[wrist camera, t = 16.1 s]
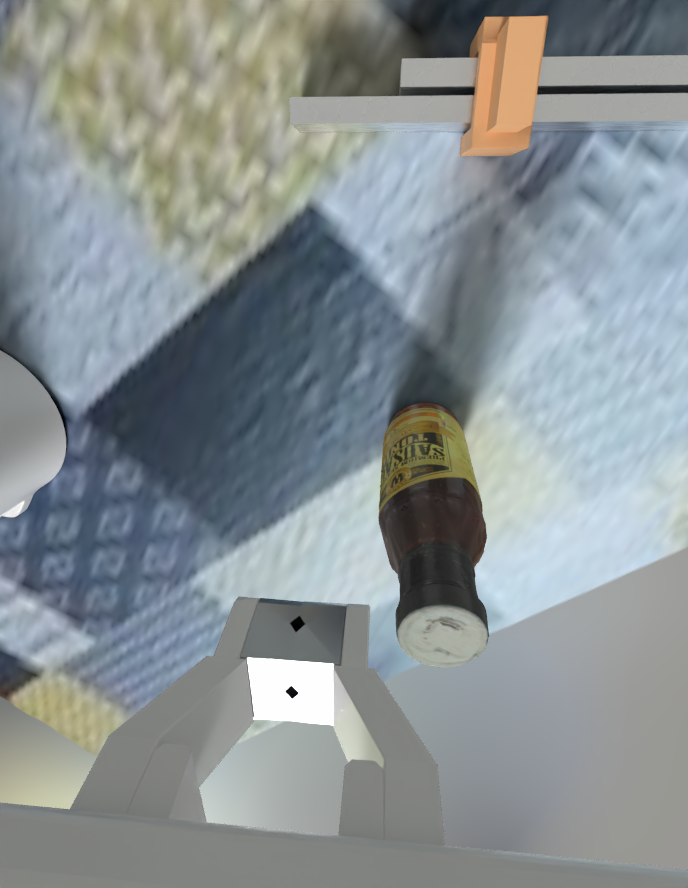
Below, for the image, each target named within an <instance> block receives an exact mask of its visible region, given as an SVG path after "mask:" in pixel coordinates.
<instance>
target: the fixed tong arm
mask: <svg viewBox="0 0 688 888" xmlns="http://www.w3.org/2000/svg"><path fill="white" fill-rule="evenodd" d="M289 101H290V124H291V125H293V126H294V127H295V128H296V129H297V130H298V131H299V132H300V133H332V132H467V131H468V130H469V129H471V124H472V114H473V104H474V95H448V96H353V97H289ZM531 131H688V93H637V94H543V95H537V96H536V103H535V109H534V116H533V123H532V129H531Z"/></svg>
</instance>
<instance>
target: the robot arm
mask: <svg viewBox="0 0 688 888" xmlns="http://www.w3.org/2000/svg"><path fill="white" fill-rule="evenodd" d="M65 453H66V435H65V429H64V425H63V422H62V419H61V416H60V414H59V411H58V409H57V407H56V405H55V403H54V402H53V400H52V398H51V397H50V395H49V394H48V392H47V391H46V389H45V388H44V387H43V386H42V384H41V383H40V382H39V381H38V380H37V379H36V378H35V377H34V376H33V375H32V374H31V373H30V372H29V371H28V370H27V369H26V368H25V367H24V366H23V365H21V364H20V363H19V362H17V361H16V360H15V359H13V358H12V357H10V356H9V355H7V354H6V353H4V352H2V351H1V350H0V517H1V516H5V517H16V516H18V515H19V514H21V513H22V512H24V511H25V510H26V509H27V508H28V506H29V504H30V502H31V499H32V497H33V494H34V493H35V492H36V491H37V490H38V489H39V488H41V487H42V486H44V485H45V484H47V483H48V482H49V481H51V480H52V479H53V478H54V477H55V476H56V474H57V473H58V472H59V470H60V468H61V466H62V464H63V461H64V458H65ZM369 621H370V606H369V605H359V604H340V603H321V602H298V601H287V600H276V599H265V598H260V599H259V598H248V597H238V598H237V599H236V601H235V602H234V604H233V607H232V609H231V612H230V615H229V617H228V620H227V622H226V625H225V628H224V630H223V633H222V635H221V638H220V641H219V643H218V646H217V648H216V651H215V653H214V656H213V657H212V656H206V657H205V658H204V659H203V660H201V661H200V662H199V663H198V664H196V665H195V666H194V667H193V668H192V669H190V670H189V671H188V672H187V673H185V674H184V675H183V676H182V677H180V678H179V679H178V680H177V681H176V682H174V683H173V684H172V685H171V686H169V687H168V688H167V689H166V690H164V691H163V692H162V693H161V694H160V695H158V696H157V697H156V698H155V699H153V700H152V701H151V702H150V703H149V704H147V705H146V706H145V707H144V708H142V709H141V710H140V711H139V712H137V713H136V714H135V715H134V716H133V717H131V718H130V719H129V720H128V721H126V722H125V723H124V724H123V725H121V726H120V727H119V728H118V729H117V730H115V731H114V732H113V733H112V734H110V735H109V736H108V738H107V740H106V742H105V744H104V746H103V748H102V750H101V751H100V753H99V755H98V757H97V759H96V761H95V763H94V765H93V767H92V768H91V771H90V772H89V774H88V776H87V778H86V780H85V782H84V784H83V785H82V787H81V789H80V791H79V793H78V795H77V797H76V799H75V800H74V803H73V804H72V806H71V808H70V809H59V808H50V807H38V806H28V805H18V804H8V803H0V888H688V869H683V868H673V867H662V866H652V865H642V864H631V863H621V862H611V861H599V860H590V859H579V858H569V857H559V856H548V855H537V854H527V853H517V852H507V851H496V850H486V849H475V848H465V847H454V846H445V840H444V829H443V818H442V807H441V797H440V786H439V775H438V765H437V763H436V762H435V760H434V759H433V757H432V756H431V754H430V753H429V751H428V749H427V748H426V746H425V745H424V743H423V742H422V740H421V739H420V737H419V736H418V734H417V733H416V731H415V730H414V728H413V727H412V725H411V723H410V722H409V720H408V719H407V717H406V716H405V714H404V713H403V711H402V710H401V708H400V707H399V705H398V704H397V702H396V701H395V699H394V697H393V696H392V694H391V693H390V691H389V690H388V688H387V687H386V685H385V684H384V682H383V681H382V679H381V678H380V676H379V674H378V673H377V671H376V670H375V668H368V647H369ZM254 719H267V720H287V721H300V722H309V723H318V724H328V725H333V728H334V730H335V733H336V735H337V737H338V739H339V742H340V744H341V746H342V749H343V751H344V753H345V756H346V758H347V760H348V762H349V763H348V764H347V765H346V766H345V770H344V780H343V792H342V803H341V815H340V825H339V835H330V834H321V833H310V832H299V831H289V830H278V829H269V828H258V827H247V826H237V825H227V824H216V823H207V822H206V817H205V813H204V808H203V804H202V799H201V795H200V790H199V787H200V785H201V784H202V783H203V782H204V781H205V780H206V778H207V777H208V776H209V775H210V773H211V772H212V771H213V770H214V769H215V767H216V766H217V765H218V764H219V763H220V762H221V760H222V759H223V758H224V757H225V756H226V754H227V753H228V752H229V751H230V750H231V748H232V747H233V746H234V745H235V744H236V742H237V741H238V740H239V739H240V738H241V736H242V735H243V734H244V733H245V732H246V730H247V729H248V728H249V727H250V726H251V724H252V723H253V722H254Z"/></svg>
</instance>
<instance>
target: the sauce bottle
mask: <svg viewBox="0 0 688 888" xmlns="http://www.w3.org/2000/svg"><path fill="white" fill-rule="evenodd" d="M381 473H382V474H381V485H380V503H379V525H380V528H381V532H382V536H383V540H384V543H385V547H386V551H387V554H388V558H389V562H390V565H391V567H392V569H393V570H394V571H395V572H396V573H397V574H398V579H399V583H400V602H399V605H398V607H397V609H396V632H397V638H398V641H399V644H400V646H401V648H402V649H403V650H404V652H405V653H406V654H407V655H408V656H410V657H411V658H412V659H414V660H416V661H418V662H420V663H423V664H426V665H430V666H437V667H453V666H457V665H462V664H465V663H467V662H469V661H471V660H472V659H474V658H476V657H478V656H479V655H480V654H481V653H482V652H483V651H484V649H485V647H486V646H487V642H488V637H489V633H488V623H487V614H486V610H485V607H484V605H483V603H482V602H481V601H480V600H479V599H478V595H477V591H476V585H475V571H474V567H475V566H476V564H477V563H478V562H479V560H480V558H481V557H482V554H483V552H484V547H485V543H486V539H487V535H486V524H485V521H484V518H483V514H482V502H481V498H480V494H479V490H478V486H477V482H476V479H475V475H474V471H473V467H472V463H471V459H470V455H469V451H468V447H467V443H466V440H465V436H464V433H463V430H462V428H461V427H460V425H459V423H458V421H457V419H456V417H455V416H454V415H453V413H451V412H450V411H449V410H448V409H446V408H444V407H442V406H441V405H438V404H433V403H418V404H414V405H411V406H408V407H405V408H404V409H403V410H401V411H399V412H398V413H397V414H396V415H395V417H394V418H393V420H392V421H391V422H390V424H389V427H388V429H387V430H386V433H385V436H384V442H383V457H382V471H381Z"/></svg>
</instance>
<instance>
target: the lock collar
mask: <svg viewBox="0 0 688 888" xmlns="http://www.w3.org/2000/svg"><path fill="white" fill-rule="evenodd" d="M548 17H549V16H508V17H485V18H484V20H483V22H482V24H481V26H480V28H479V29H478V31H477V33H476V35H475V37H474V39H473V41H472V43H471V45H470V55H469V58H478V66H477V76H476V85H475V95H474V104H473V114H472V124H471V129H469V130H468V131H467V132H466V133H465V134H464V135H463V136H462V137H461V147H460V156H511V155H513V154H515V153H518V152H520V151H523V150H525V149H527V148H529V142H530V136H531V129H532V123H533V116H534V109H535V103H536V96H537V90H538V83H539V76H540V70H541V63H542V57H543V50H544V44H545V37H546V30H547V24H548Z"/></svg>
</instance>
